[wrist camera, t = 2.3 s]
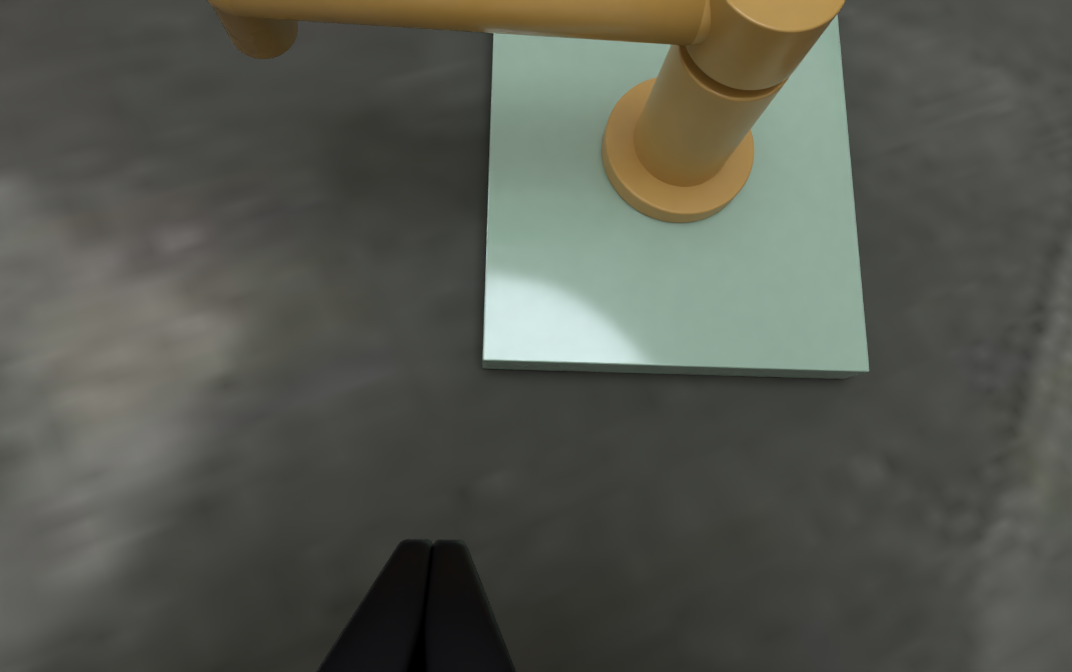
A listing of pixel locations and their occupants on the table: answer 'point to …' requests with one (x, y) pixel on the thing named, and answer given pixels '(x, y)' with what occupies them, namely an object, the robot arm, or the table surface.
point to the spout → (571, 26)
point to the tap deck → (666, 230)
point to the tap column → (682, 141)
